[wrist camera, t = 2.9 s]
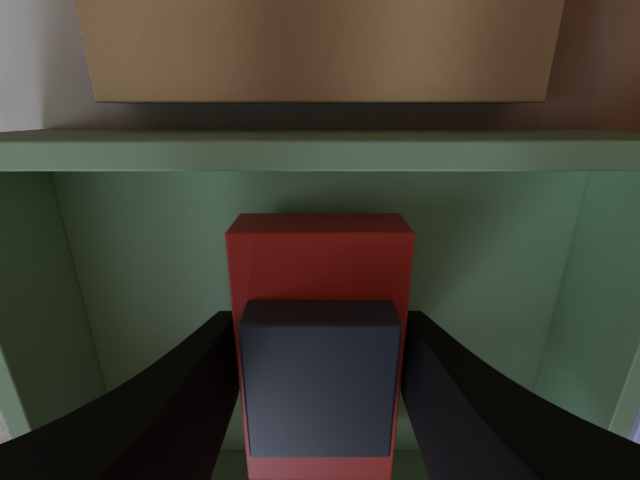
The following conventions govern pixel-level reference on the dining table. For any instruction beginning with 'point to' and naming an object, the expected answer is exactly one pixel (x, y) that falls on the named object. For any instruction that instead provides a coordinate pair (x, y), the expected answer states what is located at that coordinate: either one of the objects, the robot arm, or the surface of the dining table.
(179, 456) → the robot arm
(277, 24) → the stand
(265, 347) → the toy car
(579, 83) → the dining table surface
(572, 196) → the crate
